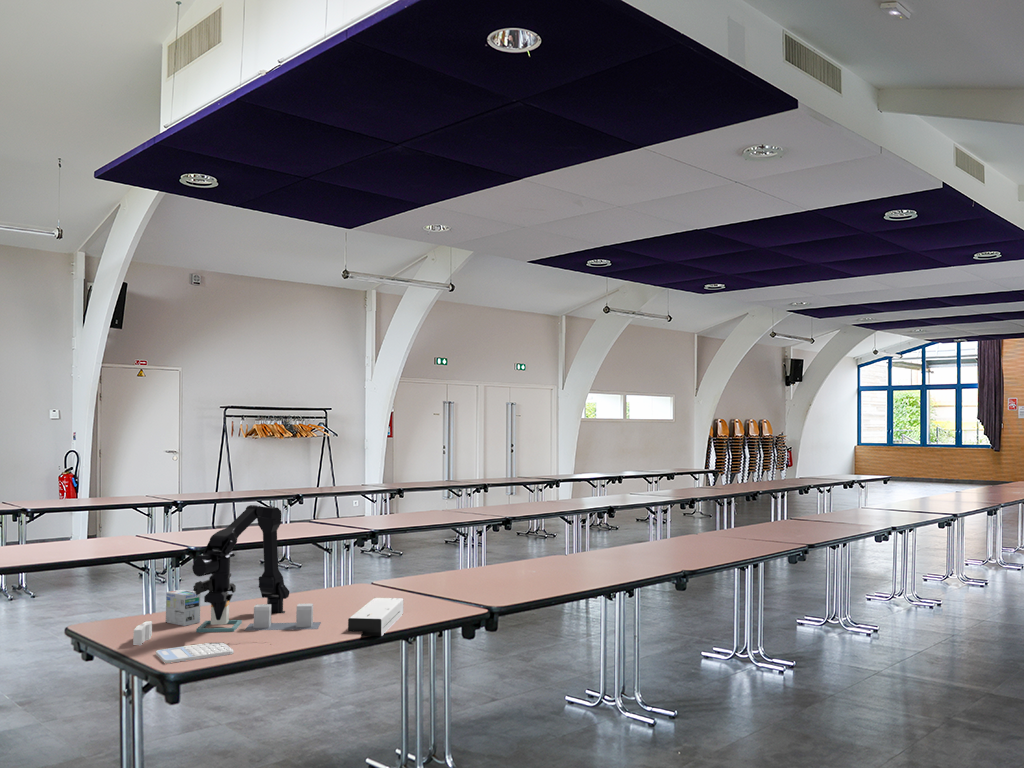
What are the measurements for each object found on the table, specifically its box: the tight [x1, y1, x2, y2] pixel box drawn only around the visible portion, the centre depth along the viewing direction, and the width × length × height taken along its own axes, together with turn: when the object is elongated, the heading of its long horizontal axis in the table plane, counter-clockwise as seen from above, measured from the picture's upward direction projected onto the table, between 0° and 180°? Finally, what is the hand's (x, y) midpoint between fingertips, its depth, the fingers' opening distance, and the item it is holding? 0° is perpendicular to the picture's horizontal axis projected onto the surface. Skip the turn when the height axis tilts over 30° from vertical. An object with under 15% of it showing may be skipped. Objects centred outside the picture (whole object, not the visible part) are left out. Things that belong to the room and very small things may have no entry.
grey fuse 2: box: [295, 603, 314, 627], centre depth 282 cm, size 4×5×7 cm
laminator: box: [347, 597, 404, 638], centre depth 291 cm, size 34×12×6 cm, turn 175°
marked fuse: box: [210, 601, 230, 626], centre depth 279 cm, size 4×5×7 cm
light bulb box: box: [165, 589, 201, 627], centre depth 292 cm, size 11×7×11 cm, turn 59°
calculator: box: [155, 642, 234, 664], centre depth 252 cm, size 13×20×2 cm, turn 125°
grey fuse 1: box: [253, 603, 272, 628], centre depth 280 cm, size 4×5×7 cm
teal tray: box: [195, 619, 242, 633], centre depth 279 cm, size 12×12×2 cm
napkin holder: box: [132, 620, 153, 646], centre depth 267 cm, size 15×11×6 cm
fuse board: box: [243, 621, 322, 632], centre depth 281 cm, size 10×24×2 cm, turn 96°
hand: (219, 618), depth 279 cm, fingers closed on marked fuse, 4 cm apart
